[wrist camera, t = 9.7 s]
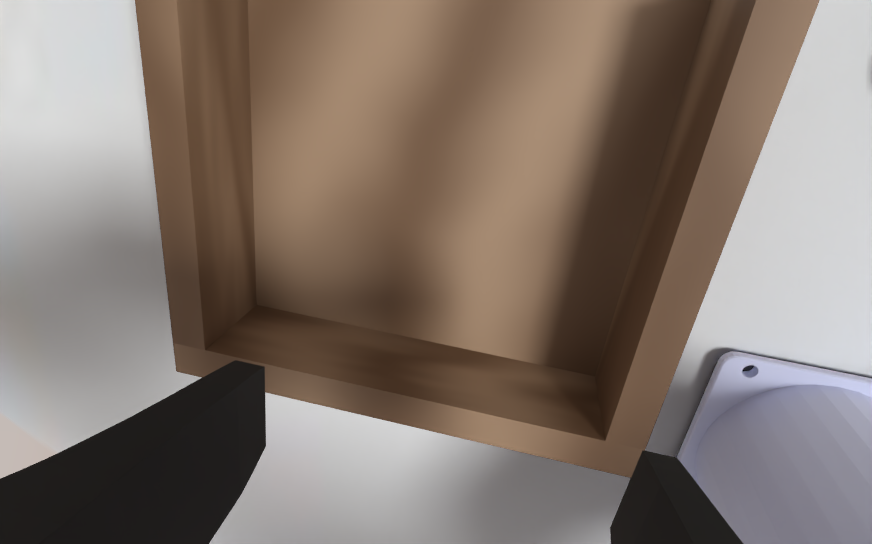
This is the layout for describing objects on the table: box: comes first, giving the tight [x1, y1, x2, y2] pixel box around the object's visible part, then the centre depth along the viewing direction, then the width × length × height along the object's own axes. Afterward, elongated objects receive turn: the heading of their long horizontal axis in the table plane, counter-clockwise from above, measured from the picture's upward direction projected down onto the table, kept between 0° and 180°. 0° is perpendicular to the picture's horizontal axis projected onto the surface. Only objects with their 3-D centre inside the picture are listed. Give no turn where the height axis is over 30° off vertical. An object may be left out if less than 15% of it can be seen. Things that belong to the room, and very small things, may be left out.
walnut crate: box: [135, 0, 819, 478], centre depth 16 cm, size 16×14×4 cm
